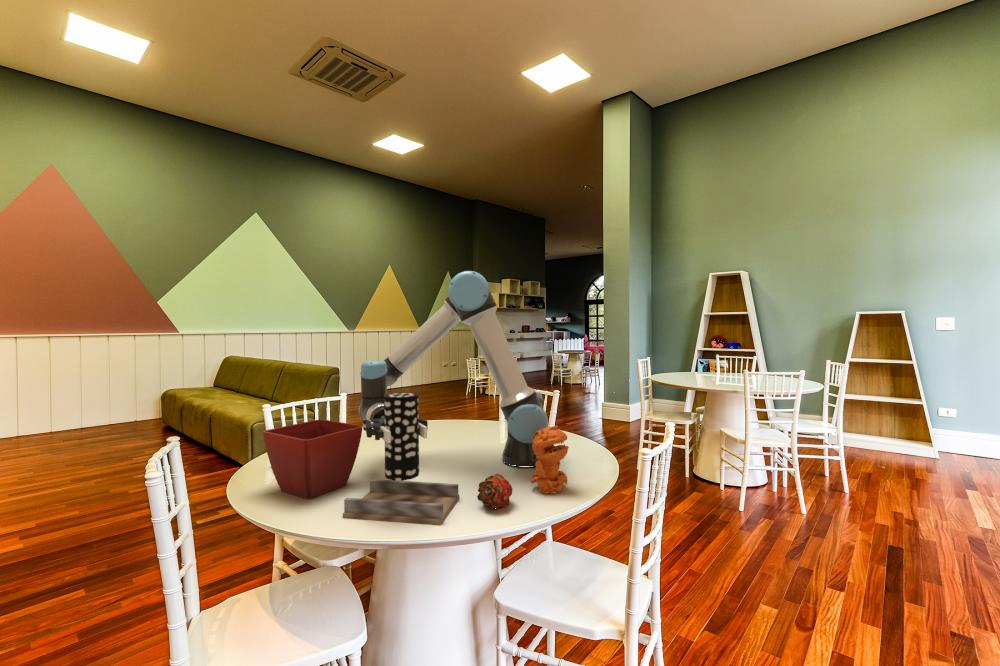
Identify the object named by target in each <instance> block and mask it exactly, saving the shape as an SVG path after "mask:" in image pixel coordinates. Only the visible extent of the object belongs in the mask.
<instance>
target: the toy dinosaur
mask: <svg viewBox="0 0 1000 666" xmlns="http://www.w3.org/2000/svg"><path fill="white" fill-rule="evenodd" d="M558 427H559V425H557V424H555V425H554V426H548V427H546V428H544V429H541V430H539V431H536V432H535V435H534V437H533V442H532V447H533V448H532V449H533V451H534V454H535V455H536V459H538V460H539V461H536V463H535V466H536V467H535V472H534V473H533V474H532V477H531V479H529V481H530V482H529V483H531V485H533V484H534V483H537V487H538V491H540V490H541V491H543V492H548V493H547V494H554V493H553V492H557V493H559V492H561V491H562V489H564V490H566V485H568V477H567V475H566V474H567V473H565V472H564V471H562V470H561V471H560V466H561V462H560V461H562V460H563V459H565V457H566V456H567V454H568V452H569V451H568V450H569V448H570V447H569V446H568V445H565V443H564V442H565V441H567V440H568V435H567V434H566V432H564V431H563V430H561V429H560V428H558ZM535 436H536V437H535ZM534 438H535V439H534ZM540 461H541V462H540ZM541 491H540V492H541ZM558 491H559V492H558ZM543 492H542V493H543Z"/></svg>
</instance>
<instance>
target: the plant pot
mask: <svg viewBox="0 0 1000 666" xmlns="http://www.w3.org/2000/svg"><path fill="white" fill-rule="evenodd" d="M362 432H363V425H358V424H352V423H347V422H342V421H336V420H335V421H334V420H329V419H323V418H320V419H319V418H318V419H313V420H309V421H304V422H300V423H294V424H289V425H285V426H284V425H283V426H280V427H275V428H270V429H266V430H263V431H262V434H263V435H262V436H263V440H264V446H265V450H266V454H267V457H268V462H269V464H270V466H271V467H270V468H271V470H272V473H273V476H274V478H275V480H276V483H277V485H278V486H279V490H281V491H282V492H285V493H288V494H292V495H294V494H295V496H298V497H301V496H302V497H301V498H304V497H305V498H304V499H313V498H315V496H316V497H318V496H321V495H324V494H327V493H329V492H332V491H334V490H337V489H339V488H342V487H345V486H347V483H348V482H349V479H350V476H351V474H352V471H353V468H354V465H355V462H356V459H357V455H358V452H359V447H360V444H361V443H360V442H361V439H362ZM312 497H313V498H312Z"/></svg>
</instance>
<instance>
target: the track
mask: <svg viewBox="0 0 1000 666" xmlns="http://www.w3.org/2000/svg"><path fill="white" fill-rule="evenodd" d="M458 499H460V494H459V483H448V482H447V483H443V482H429V481H427V482H426V481H425V482H424V481H411V480H410V481H409V480H403V481H394V480H389V479H377V478H375V479H373V478H372V479H370V480H369V492H368V493H367V494H365V495H364V496H363V497H362V498H359V497H358V498H355V497H345V499H344V501H343V502H344V503H343V504H344V505H343V506H344V507H343V509H344V512H343V513H342V518H343V519H354V520H355V519H356V520H367V521H368V520H371V521H382V522H397V523H398V522H399V523H409V524H411V523H412V524H423V525H435V526H436V525H437V526H441V525H442V524H443V523H444V521H445V520H446V518H447V516H448V515H449V514H450V512H451V511H452V509H453V508H454V506H455V505H457V503H458V501H459V500H458Z"/></svg>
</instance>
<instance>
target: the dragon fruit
mask: <svg viewBox="0 0 1000 666" xmlns="http://www.w3.org/2000/svg"><path fill="white" fill-rule="evenodd" d="M477 492H478V494H477V495H476V498H477V500H478V501H480V502H482V504H483V505H485V506H487V507H488V508H490V509H492V510H494V509H495V508H496V510H498V509H499V508H500V506H501V507H505V506H506V507H508V506H509V504H510V497H511V496H512V495H513V486H512V484H511V483H510V482H509V480H507V478H505V477H504V476H503V475H502V474H500V473H495V474H494V475H489V476H487V477H486V478H485V480H484V481H481V482H479V483H478V489H477Z"/></svg>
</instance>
